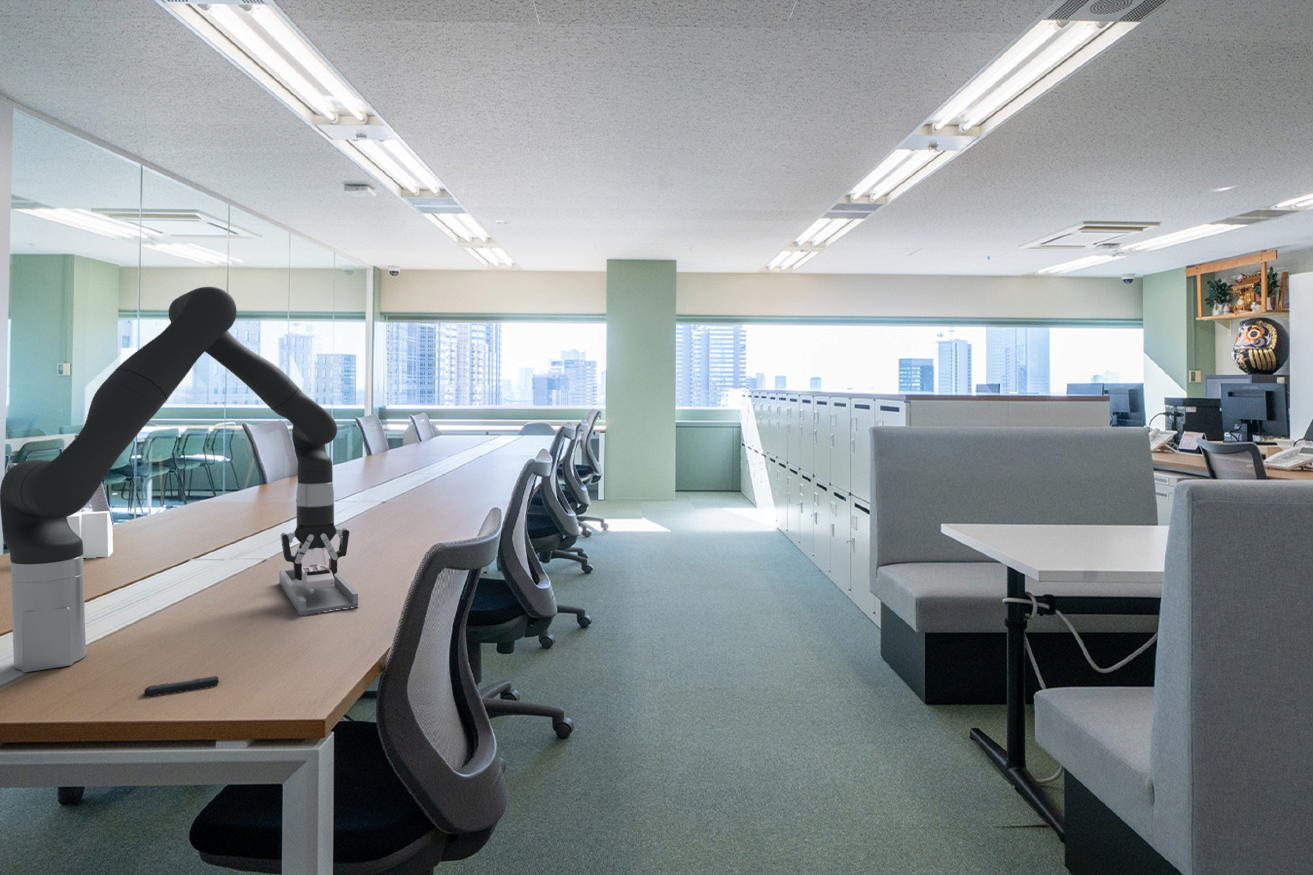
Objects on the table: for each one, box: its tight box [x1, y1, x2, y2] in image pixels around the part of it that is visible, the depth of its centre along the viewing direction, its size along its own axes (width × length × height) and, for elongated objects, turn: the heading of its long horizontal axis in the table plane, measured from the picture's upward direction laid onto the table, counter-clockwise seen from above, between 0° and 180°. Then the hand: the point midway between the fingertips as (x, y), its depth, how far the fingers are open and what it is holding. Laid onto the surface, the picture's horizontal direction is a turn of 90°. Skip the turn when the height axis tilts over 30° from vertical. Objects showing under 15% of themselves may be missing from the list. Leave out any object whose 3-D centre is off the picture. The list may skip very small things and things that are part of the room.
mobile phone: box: [296, 546, 334, 594], centre depth 164 cm, size 6×6×25 cm
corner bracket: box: [67, 510, 114, 559], centre depth 196 cm, size 11×11×12 cm
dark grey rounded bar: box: [143, 675, 220, 697], centre depth 112 cm, size 10×3×2 cm, turn 119°
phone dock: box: [278, 564, 359, 617], centre depth 164 cm, size 30×11×3 cm, turn 34°
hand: (315, 577), depth 164 cm, fingers closed on mobile phone, 6 cm apart
